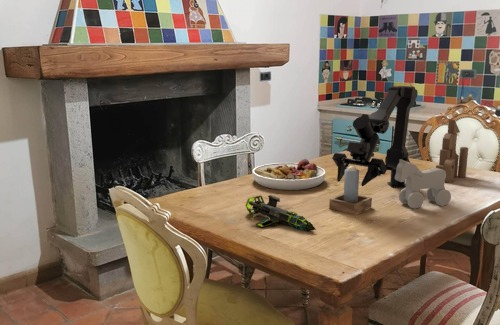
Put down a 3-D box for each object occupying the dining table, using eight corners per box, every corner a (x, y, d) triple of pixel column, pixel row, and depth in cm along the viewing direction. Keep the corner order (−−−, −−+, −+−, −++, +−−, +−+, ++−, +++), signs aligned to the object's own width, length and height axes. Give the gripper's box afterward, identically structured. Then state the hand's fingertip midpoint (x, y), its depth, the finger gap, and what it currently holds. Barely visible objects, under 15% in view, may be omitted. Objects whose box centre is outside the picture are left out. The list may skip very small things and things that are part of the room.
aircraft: (296, 247, 146) (298, 226, 144) (231, 218, 165) (232, 200, 163) (332, 232, 158) (334, 212, 156) (267, 207, 177) (268, 189, 175)
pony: (403, 212, 170) (406, 163, 167) (387, 203, 180) (390, 157, 176) (454, 207, 176) (458, 159, 172) (436, 198, 185) (439, 153, 182)
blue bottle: (341, 203, 176) (342, 165, 173) (353, 202, 177) (355, 164, 174) (347, 208, 172) (348, 168, 168) (360, 206, 173) (361, 167, 170)
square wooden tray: (344, 201, 182) (345, 192, 181) (371, 207, 175) (371, 197, 175) (329, 208, 174) (329, 199, 173) (356, 215, 168) (357, 204, 167)
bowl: (301, 197, 189) (301, 176, 188) (237, 184, 207) (237, 165, 205) (337, 180, 213) (338, 162, 211) (278, 170, 230) (278, 153, 228)
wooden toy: (450, 183, 206) (455, 122, 200) (434, 180, 211) (439, 120, 205) (467, 176, 216) (472, 118, 211) (451, 174, 221) (456, 117, 215)
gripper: (335, 130, 178) (317, 166, 172) (385, 135, 166) (367, 174, 161) (346, 148, 186) (329, 183, 180) (394, 155, 174) (377, 193, 168)
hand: (349, 183), depth 172 cm, fingers open, 9 cm apart
